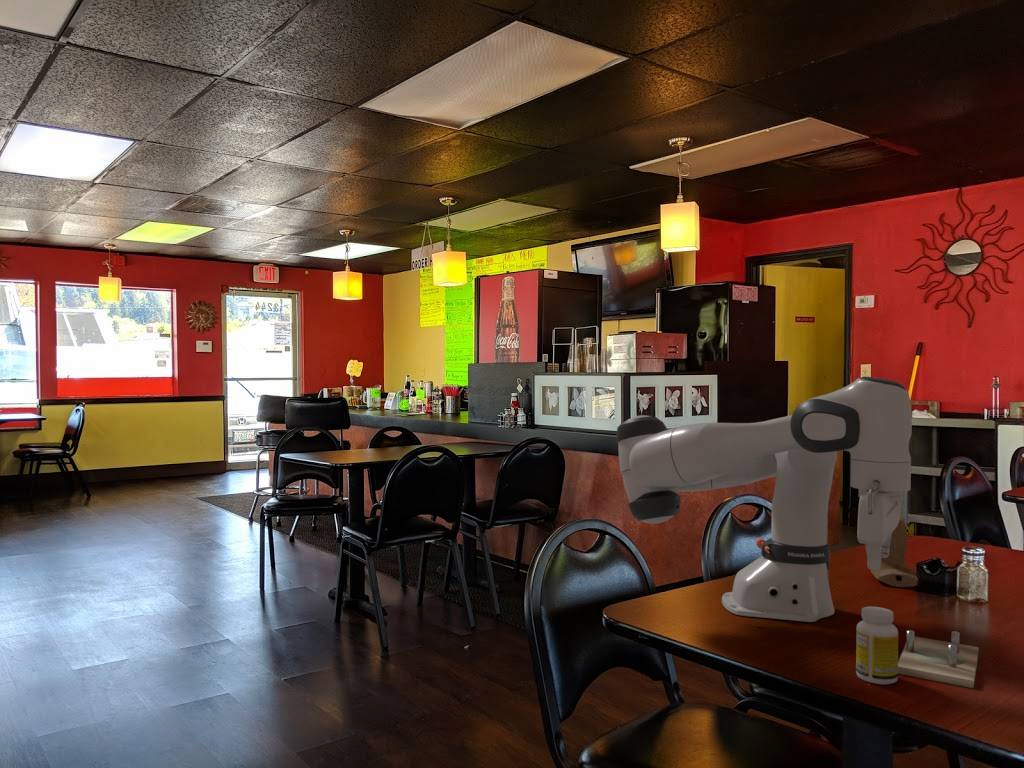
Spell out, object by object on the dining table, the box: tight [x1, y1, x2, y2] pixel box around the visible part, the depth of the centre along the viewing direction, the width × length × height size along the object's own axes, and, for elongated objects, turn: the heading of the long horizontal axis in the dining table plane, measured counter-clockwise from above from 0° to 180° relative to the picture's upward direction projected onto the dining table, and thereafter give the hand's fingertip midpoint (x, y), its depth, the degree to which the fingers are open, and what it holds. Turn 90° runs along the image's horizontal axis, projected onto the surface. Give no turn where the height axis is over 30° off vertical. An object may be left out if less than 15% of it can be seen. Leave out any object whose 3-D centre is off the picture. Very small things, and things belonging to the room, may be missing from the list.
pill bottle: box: [855, 606, 899, 685], centre depth 127 cm, size 6×6×11 cm
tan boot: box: [870, 517, 918, 588], centre depth 188 cm, size 15×12×15 cm
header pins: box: [905, 629, 961, 667], centre depth 135 cm, size 9×8×4 cm
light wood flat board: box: [898, 635, 979, 689], centre depth 134 cm, size 18×11×1 cm, turn 147°
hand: (878, 562), depth 127 cm, fingers open, 8 cm apart
